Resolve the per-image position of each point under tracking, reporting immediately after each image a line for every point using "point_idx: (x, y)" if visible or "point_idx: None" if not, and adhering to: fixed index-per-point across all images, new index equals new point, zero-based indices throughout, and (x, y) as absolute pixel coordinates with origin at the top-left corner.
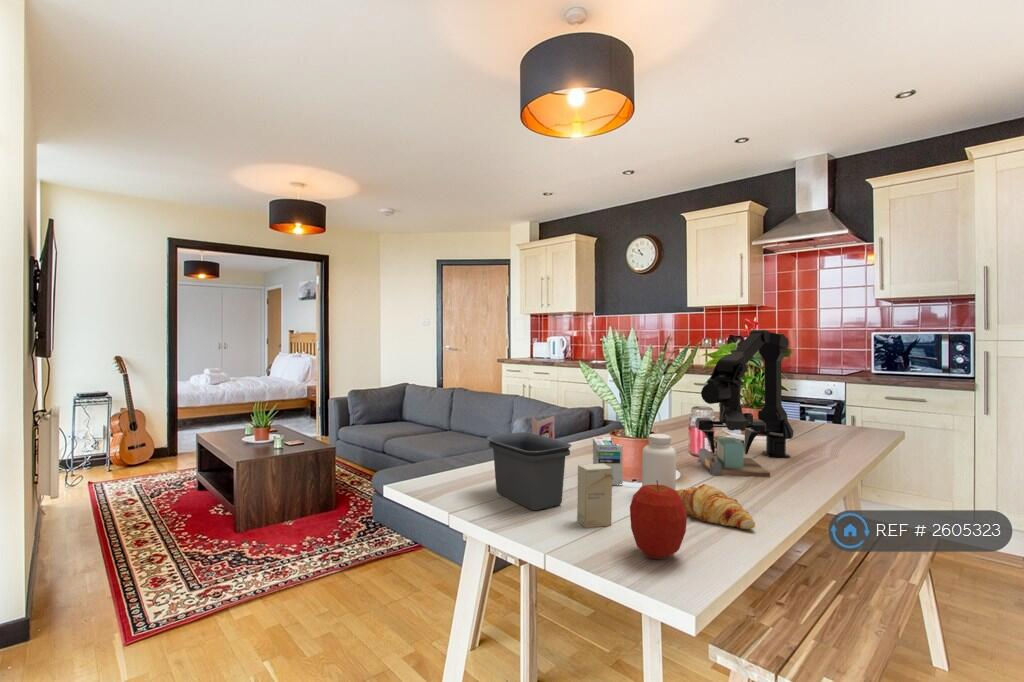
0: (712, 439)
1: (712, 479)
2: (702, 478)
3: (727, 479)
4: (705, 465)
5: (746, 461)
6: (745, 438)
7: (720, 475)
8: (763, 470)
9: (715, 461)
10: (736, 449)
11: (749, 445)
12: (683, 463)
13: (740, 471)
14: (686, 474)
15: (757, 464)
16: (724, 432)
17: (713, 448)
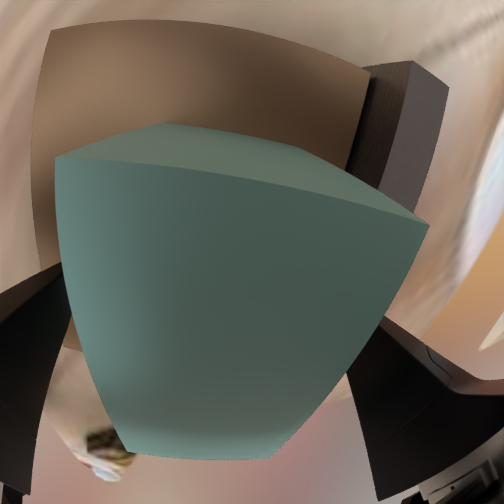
0: (438, 366)
1: (424, 35)
2: (452, 67)
3: (356, 5)
4: None
5: None
6: (28, 404)
7: (364, 68)
8: (55, 80)
9: (422, 119)
10: (216, 151)
11: (7, 294)
12: (394, 305)
13: (236, 36)
14: (475, 142)
15: (41, 231)
16: (120, 474)
17: None
